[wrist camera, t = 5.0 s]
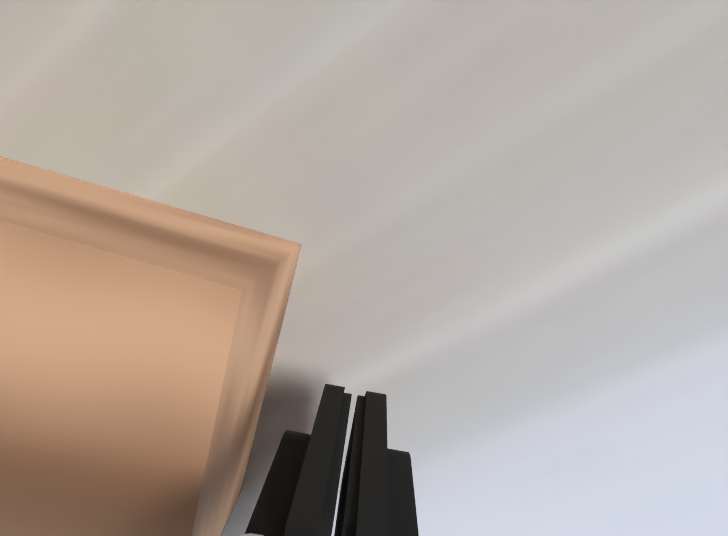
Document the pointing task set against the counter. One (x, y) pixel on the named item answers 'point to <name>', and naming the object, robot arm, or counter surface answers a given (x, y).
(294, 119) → the counter surface
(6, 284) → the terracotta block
